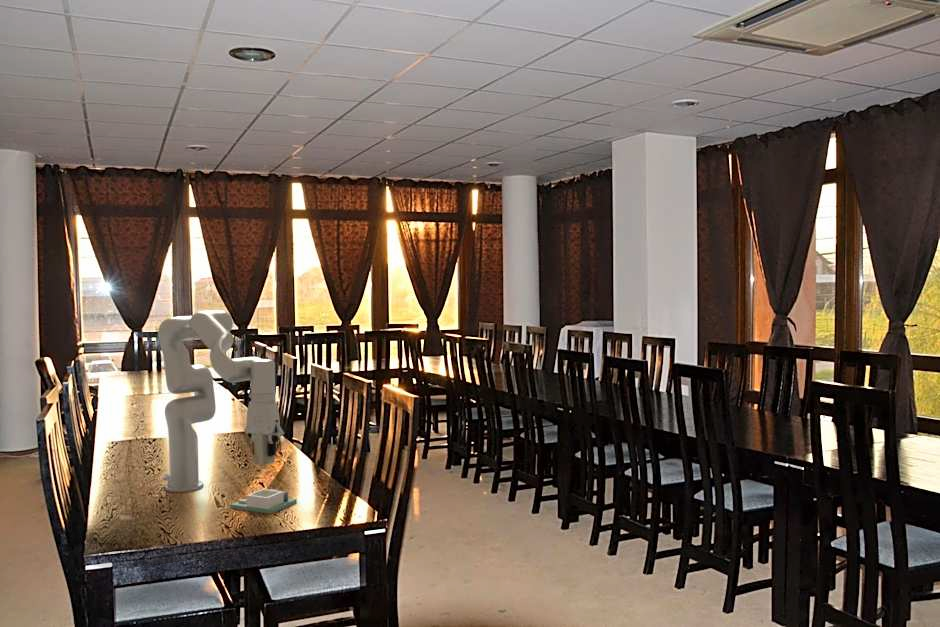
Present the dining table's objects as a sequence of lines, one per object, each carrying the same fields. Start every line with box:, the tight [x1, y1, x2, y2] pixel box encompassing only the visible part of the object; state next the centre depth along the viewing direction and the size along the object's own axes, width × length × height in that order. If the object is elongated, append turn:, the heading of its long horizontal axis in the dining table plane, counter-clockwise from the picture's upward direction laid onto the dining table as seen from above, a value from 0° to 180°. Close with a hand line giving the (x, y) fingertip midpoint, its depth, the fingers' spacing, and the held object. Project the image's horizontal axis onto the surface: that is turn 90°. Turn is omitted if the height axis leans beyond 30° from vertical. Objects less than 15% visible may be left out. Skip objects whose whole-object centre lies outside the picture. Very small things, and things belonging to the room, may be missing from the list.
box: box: [253, 431, 276, 466], centre depth 259 cm, size 5×4×11 cm
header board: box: [230, 491, 297, 515], centre depth 262 cm, size 16×13×4 cm
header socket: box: [246, 488, 285, 509], centre depth 260 cm, size 8×9×4 cm
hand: (264, 454), depth 259 cm, fingers closed on box, 5 cm apart
